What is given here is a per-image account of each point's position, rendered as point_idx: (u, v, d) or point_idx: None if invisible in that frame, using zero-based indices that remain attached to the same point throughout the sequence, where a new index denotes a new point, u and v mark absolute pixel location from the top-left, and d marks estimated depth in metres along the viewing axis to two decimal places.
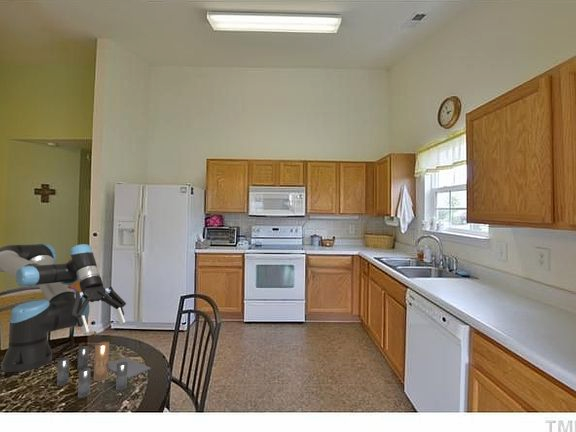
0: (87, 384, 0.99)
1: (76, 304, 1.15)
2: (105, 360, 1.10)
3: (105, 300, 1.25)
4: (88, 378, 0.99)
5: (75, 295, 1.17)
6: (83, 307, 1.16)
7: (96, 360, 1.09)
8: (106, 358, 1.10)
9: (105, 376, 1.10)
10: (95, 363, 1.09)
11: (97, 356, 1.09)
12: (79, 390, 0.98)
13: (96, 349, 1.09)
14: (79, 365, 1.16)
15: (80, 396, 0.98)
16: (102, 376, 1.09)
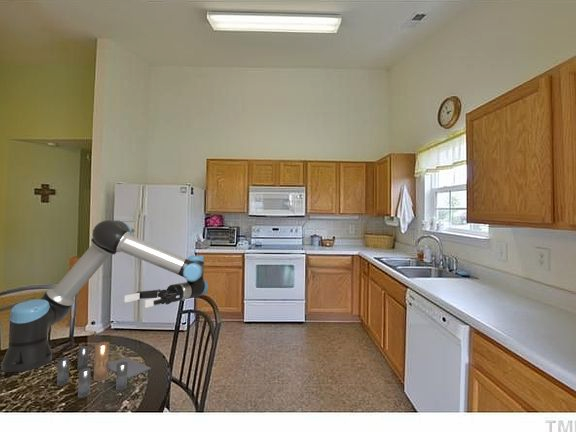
0: (87, 384, 0.99)
1: None
2: (105, 360, 1.10)
3: (154, 294, 1.33)
4: (88, 378, 0.99)
5: (177, 297, 1.31)
6: None
7: (96, 360, 1.09)
8: (106, 358, 1.10)
9: (105, 376, 1.10)
10: (95, 363, 1.09)
11: (97, 356, 1.09)
12: (79, 390, 0.98)
13: (96, 349, 1.09)
14: (79, 365, 1.16)
15: (80, 396, 0.98)
16: (102, 376, 1.09)
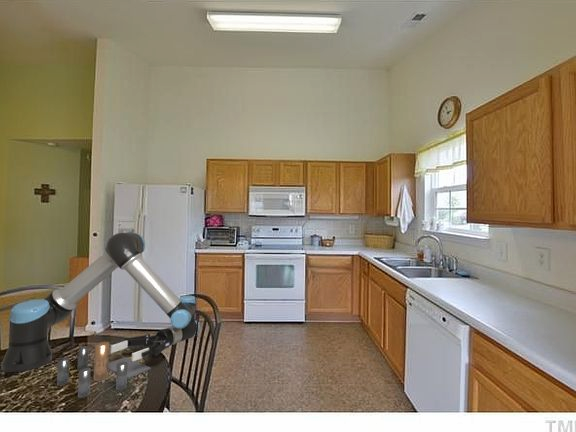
0: (87, 384, 0.99)
1: None
2: (105, 360, 1.10)
3: (143, 341, 1.28)
4: (88, 378, 0.99)
5: (167, 345, 1.26)
6: None
7: (96, 360, 1.09)
8: (106, 358, 1.10)
9: (105, 376, 1.10)
10: (95, 363, 1.09)
11: (97, 356, 1.09)
12: (79, 390, 0.98)
13: (96, 349, 1.09)
14: (79, 365, 1.16)
15: (80, 396, 0.98)
16: (102, 376, 1.09)
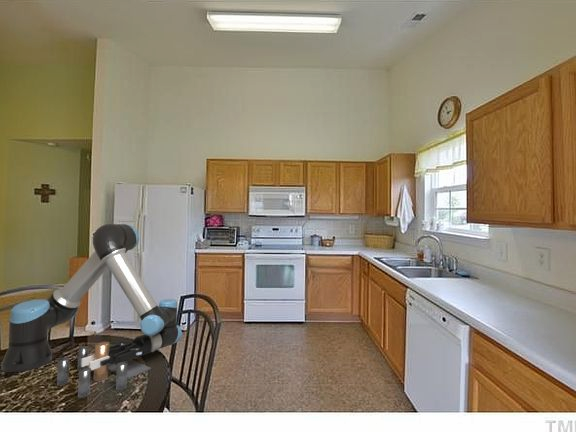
0: (87, 384, 0.99)
1: None
2: None
3: (119, 350, 1.18)
4: (88, 378, 0.99)
5: (139, 354, 1.16)
6: None
7: None
8: None
9: (105, 376, 1.10)
10: None
11: (97, 356, 1.09)
12: (79, 390, 0.98)
13: (96, 349, 1.09)
14: (79, 365, 1.16)
15: (80, 396, 0.98)
16: (102, 376, 1.09)
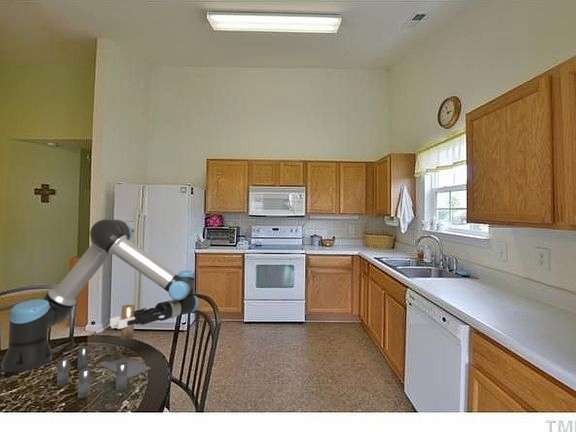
0: (87, 384, 0.99)
1: None
2: None
3: (143, 314, 1.26)
4: (88, 378, 0.99)
5: (161, 317, 1.25)
6: None
7: None
8: None
9: (131, 336, 1.18)
10: None
11: (124, 317, 1.17)
12: (79, 390, 0.98)
13: (123, 310, 1.17)
14: (79, 365, 1.16)
15: (80, 396, 0.98)
16: (129, 335, 1.18)
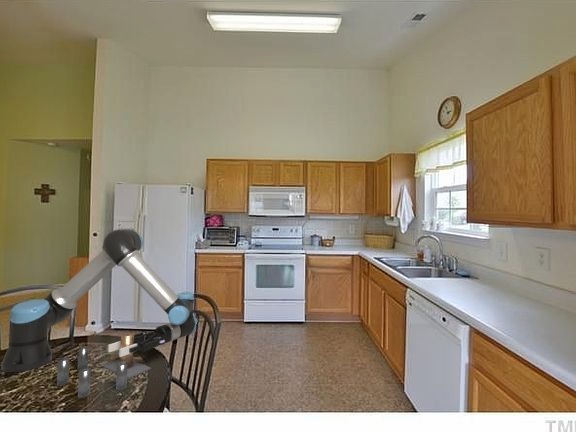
0: (87, 384, 0.99)
1: None
2: None
3: (141, 338, 1.27)
4: (88, 378, 0.99)
5: (162, 342, 1.25)
6: None
7: None
8: None
9: (131, 364, 1.18)
10: None
11: (123, 346, 1.17)
12: (79, 390, 0.98)
13: (122, 339, 1.17)
14: (79, 365, 1.16)
15: (80, 396, 0.98)
16: (128, 364, 1.17)
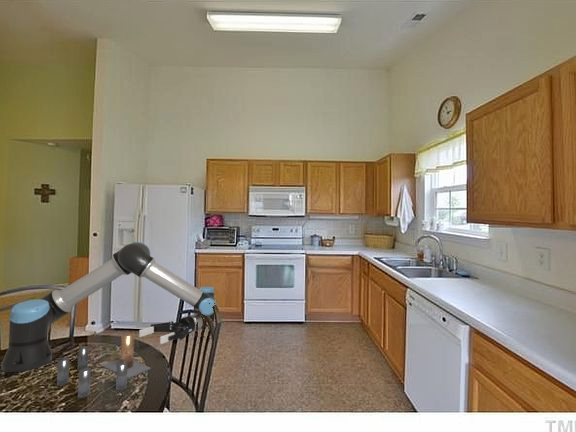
0: (87, 384, 0.99)
1: None
2: (131, 349, 1.18)
3: (167, 327, 1.39)
4: (88, 378, 0.99)
5: (190, 331, 1.37)
6: None
7: (122, 349, 1.17)
8: (132, 348, 1.19)
9: (131, 364, 1.18)
10: (122, 352, 1.17)
11: (123, 346, 1.17)
12: (79, 390, 0.98)
13: (122, 339, 1.17)
14: (79, 365, 1.16)
15: (80, 396, 0.98)
16: (128, 364, 1.17)
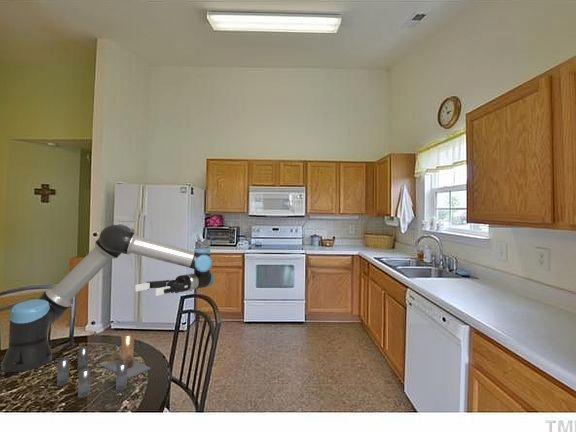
0: (87, 384, 0.99)
1: None
2: (131, 349, 1.18)
3: (163, 284, 1.39)
4: (88, 378, 0.99)
5: (186, 287, 1.37)
6: None
7: (122, 349, 1.17)
8: (132, 348, 1.19)
9: (131, 364, 1.18)
10: (121, 352, 1.17)
11: (123, 346, 1.17)
12: (79, 390, 0.98)
13: (122, 339, 1.17)
14: (79, 365, 1.16)
15: (80, 396, 0.98)
16: (128, 364, 1.17)
